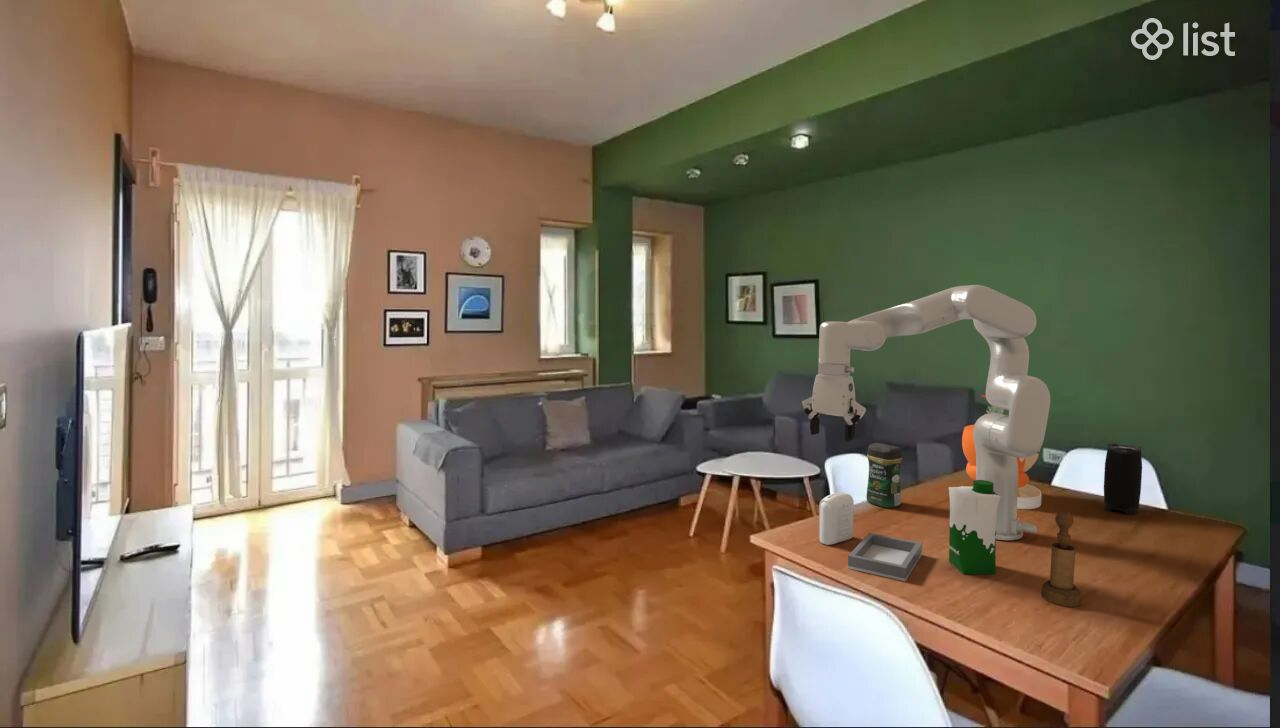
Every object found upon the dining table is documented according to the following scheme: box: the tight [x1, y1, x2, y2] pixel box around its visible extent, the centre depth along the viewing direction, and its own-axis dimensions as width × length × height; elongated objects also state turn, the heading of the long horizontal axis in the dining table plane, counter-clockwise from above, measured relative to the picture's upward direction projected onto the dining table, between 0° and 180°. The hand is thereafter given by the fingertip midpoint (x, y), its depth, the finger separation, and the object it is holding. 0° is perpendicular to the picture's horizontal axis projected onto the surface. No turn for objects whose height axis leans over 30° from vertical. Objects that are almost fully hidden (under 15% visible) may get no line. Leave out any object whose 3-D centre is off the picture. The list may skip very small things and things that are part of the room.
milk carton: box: [948, 480, 1000, 575], centre depth 138 cm, size 9×9×20 cm
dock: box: [847, 532, 923, 582], centre depth 143 cm, size 12×17×3 cm
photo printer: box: [818, 492, 854, 546], centre depth 156 cm, size 10×4×12 cm, turn 123°
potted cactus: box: [961, 394, 1043, 510], centre depth 187 cm, size 22×22×35 cm
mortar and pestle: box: [1041, 511, 1082, 608], centre depth 122 cm, size 7×6×18 cm
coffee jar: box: [866, 442, 903, 509], centre depth 184 cm, size 10×8×19 cm
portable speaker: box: [1103, 442, 1143, 515], centre depth 174 cm, size 8×9×19 cm
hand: (831, 436), depth 154 cm, fingers open, 9 cm apart
